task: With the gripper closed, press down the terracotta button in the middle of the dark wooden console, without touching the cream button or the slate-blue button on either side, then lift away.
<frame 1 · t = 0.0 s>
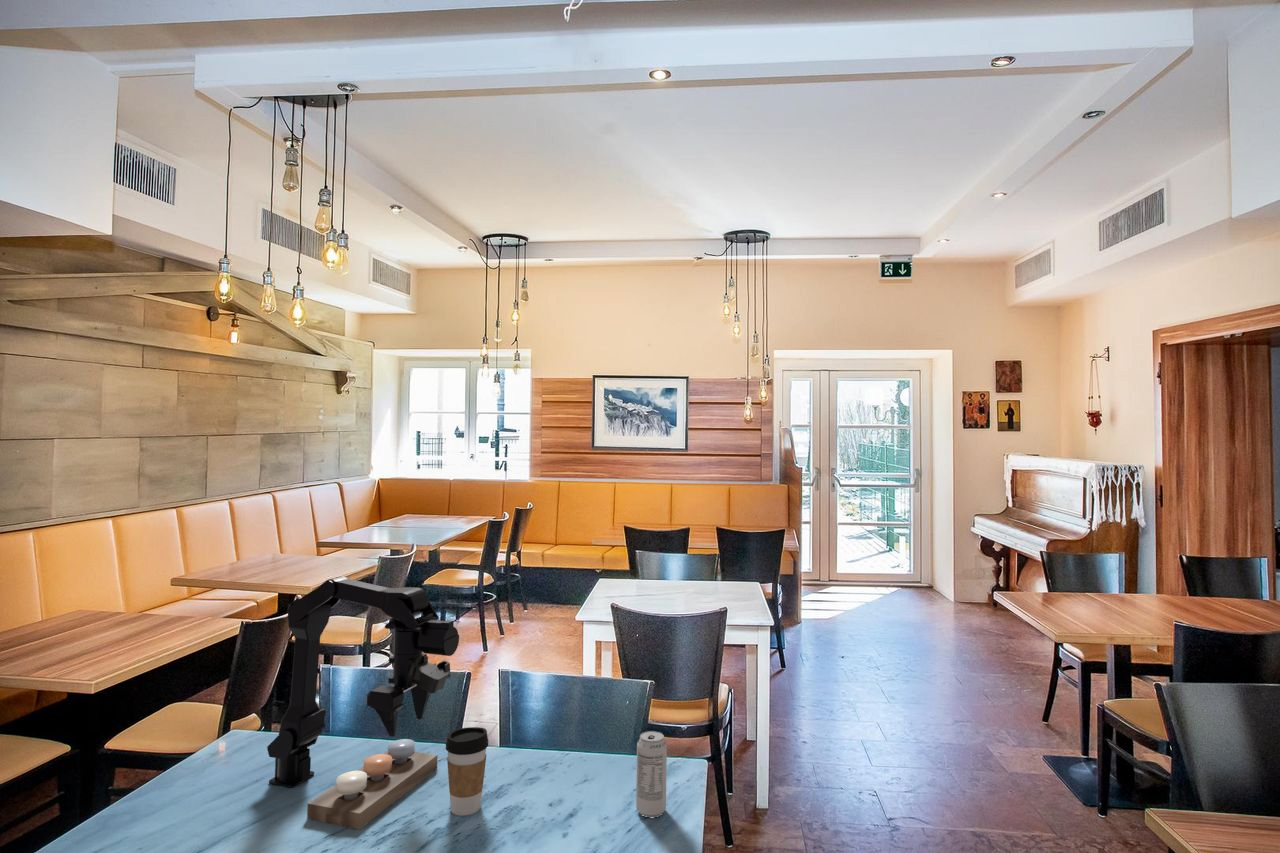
hand: (406, 727, 140), 15 cm above the table, tool pointing down, fingers open, 9 cm apart
coffee cup: (465, 809, 136), on the table
slate button: (401, 755, 150), point 4 cm above the table, slide at 0.0 cm
console: (377, 791, 142), on the table
terracotta button: (377, 772, 142), point 4 cm above the table, slide at 0.0 cm
energy drink can: (651, 812, 136), on the table
cream button: (351, 790, 135), point 4 cm above the table, slide at 0.0 cm
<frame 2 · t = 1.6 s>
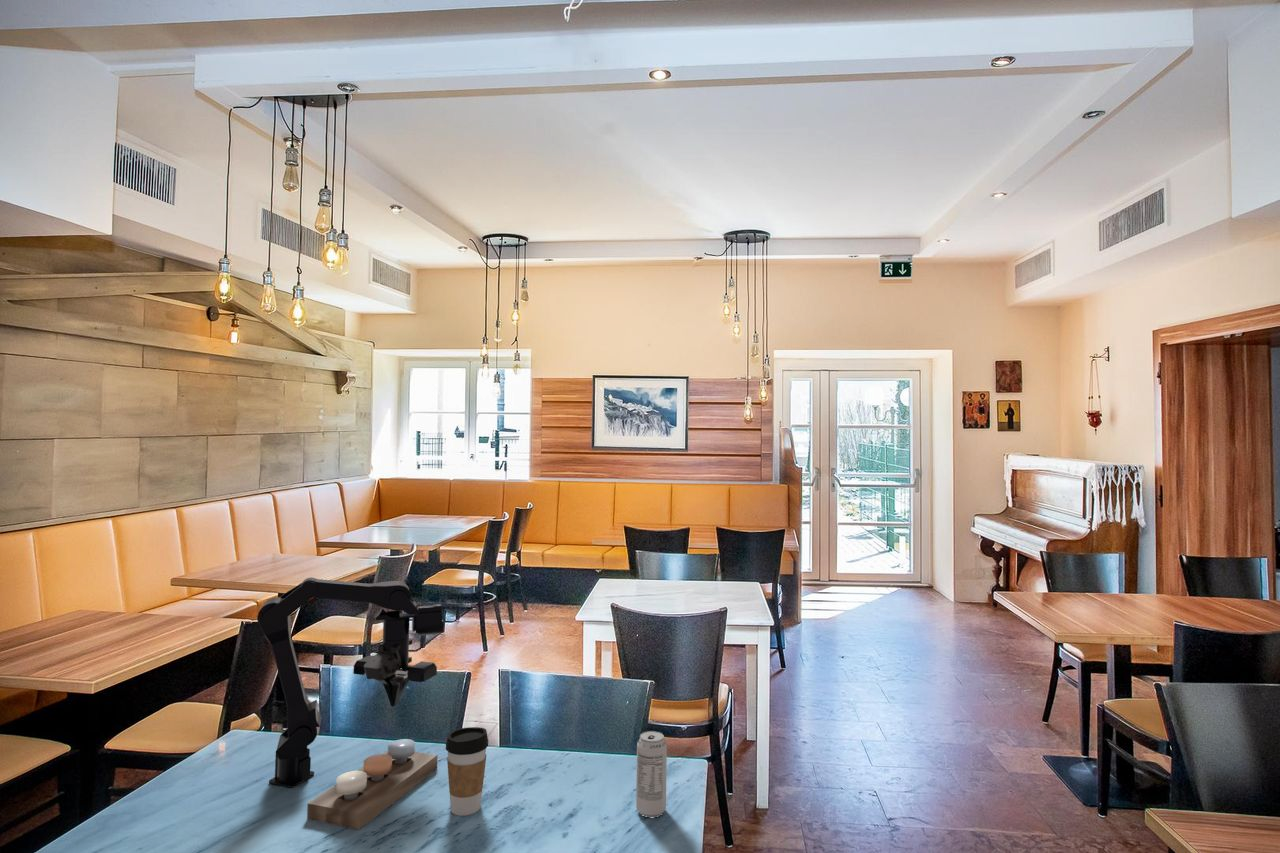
hand: (394, 706, 156), 13 cm above the table, tool pointing down, fingers closed
nothing on the table moved.
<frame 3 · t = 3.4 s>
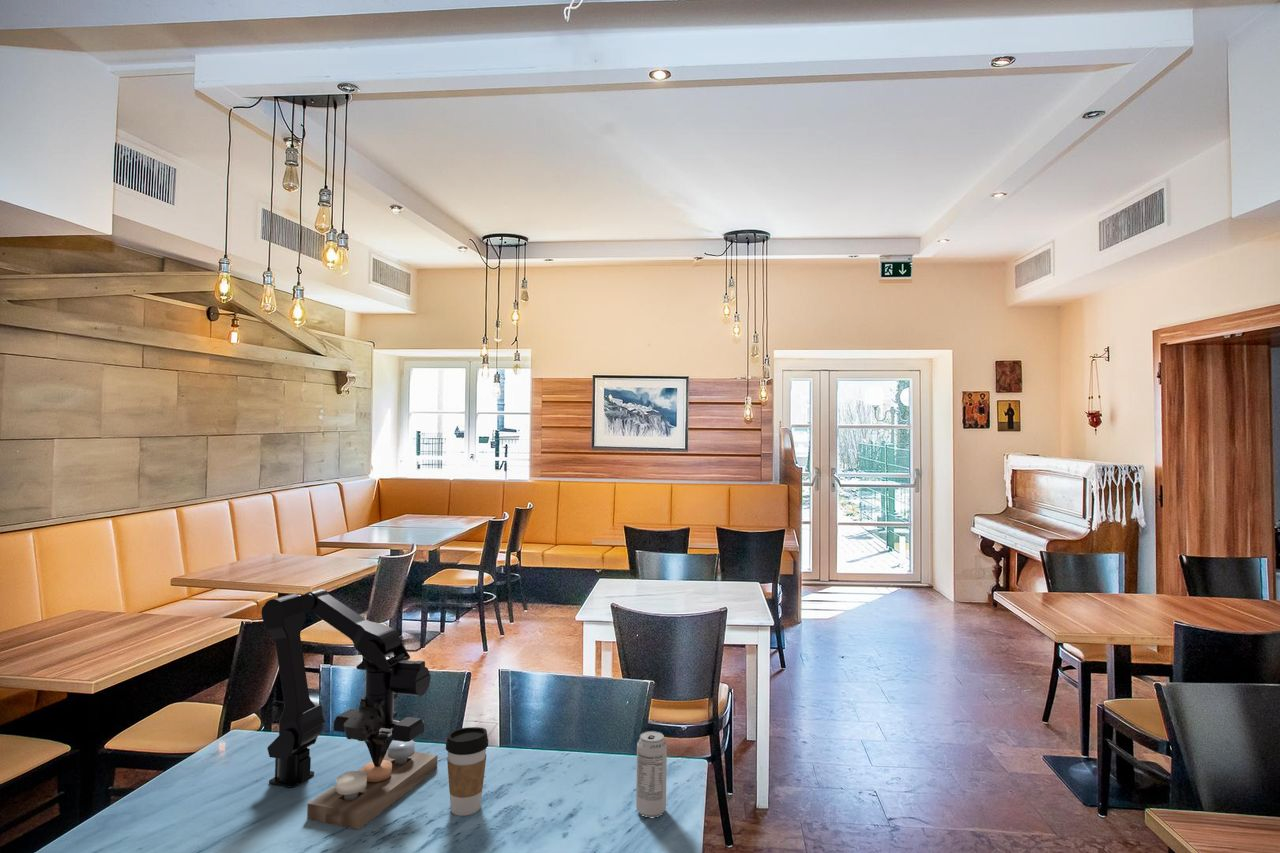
hand: (377, 765, 143), 5 cm above the table, tool pointing down, fingers closed, pressing on terracotta button
terracotta button: (377, 778, 142), point 3 cm above the table, slide at 1.2 cm, touching gripper
everything else where it was.
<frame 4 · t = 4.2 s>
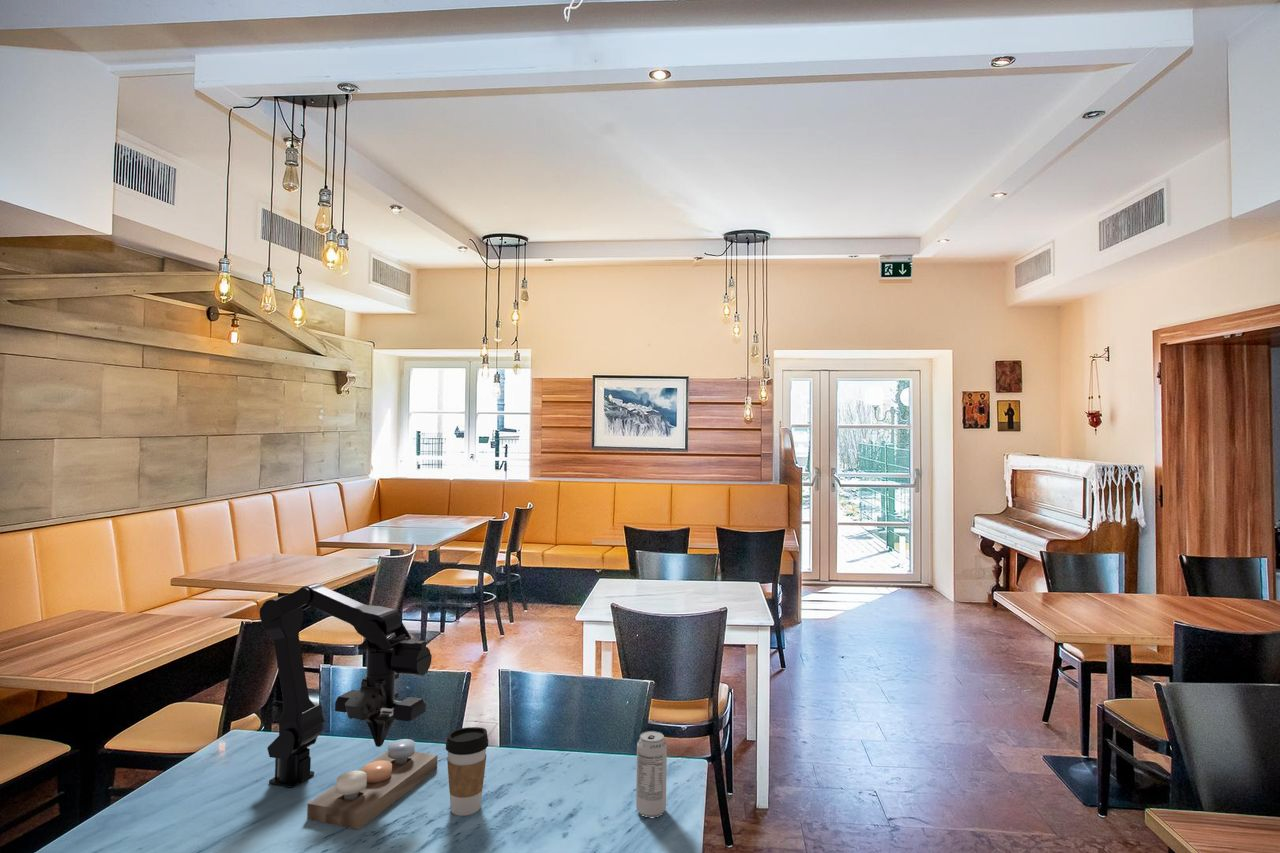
hand: (379, 746, 143), 9 cm above the table, tool pointing down, fingers closed
terracotta button: (377, 778, 142), point 3 cm above the table, slide at 1.4 cm
everything else where it was.
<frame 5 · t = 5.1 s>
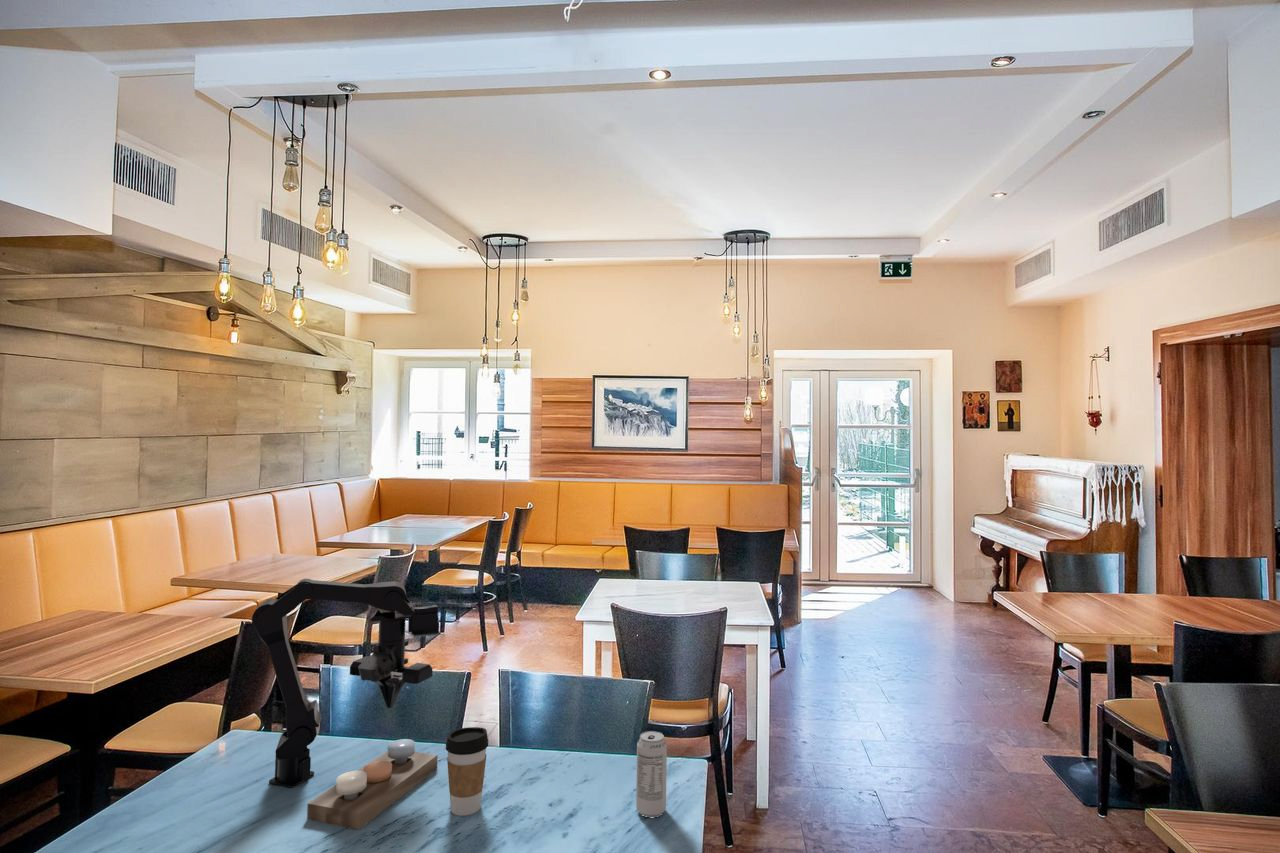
hand: (390, 707, 155), 13 cm above the table, tool pointing down, fingers closed
nothing on the table moved.
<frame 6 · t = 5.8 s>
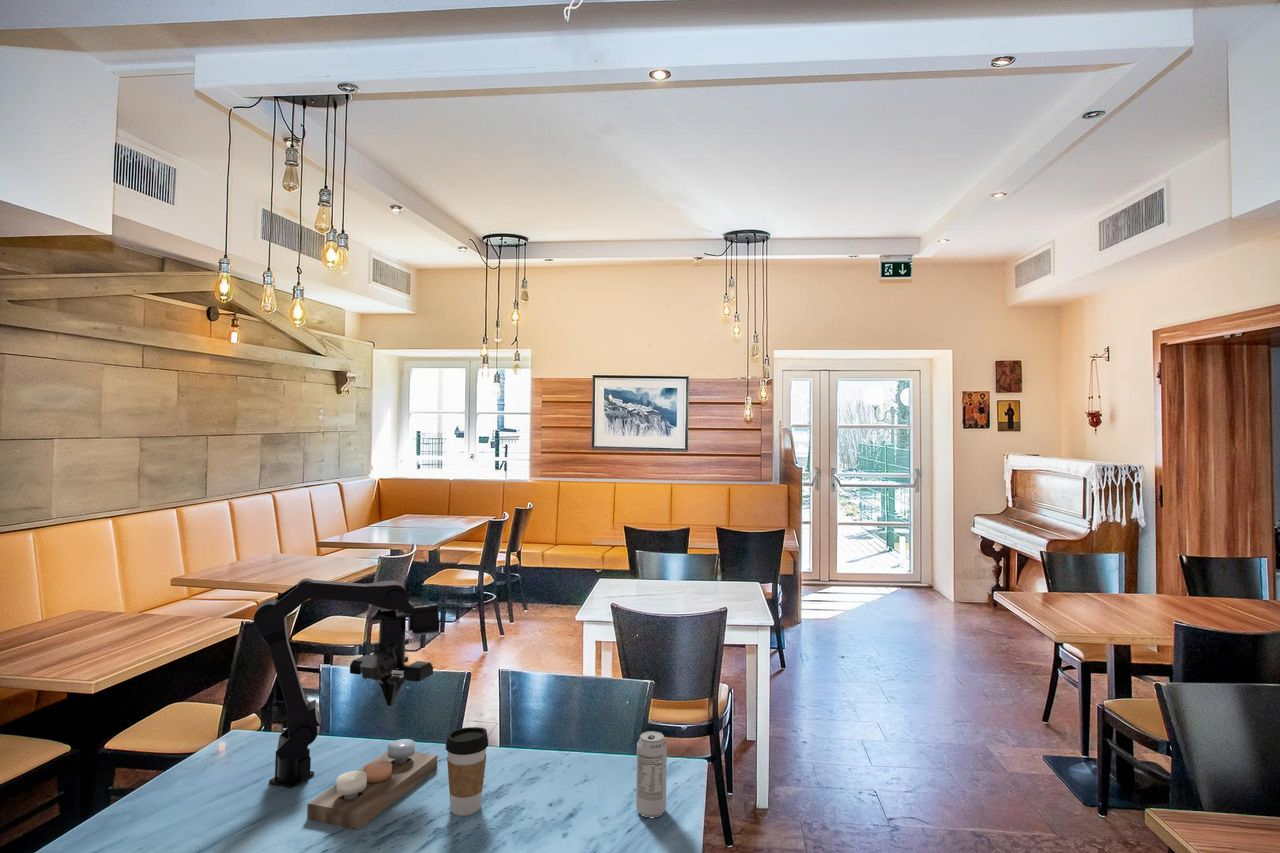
hand: (390, 705, 156), 13 cm above the table, tool pointing down, fingers closed
nothing on the table moved.
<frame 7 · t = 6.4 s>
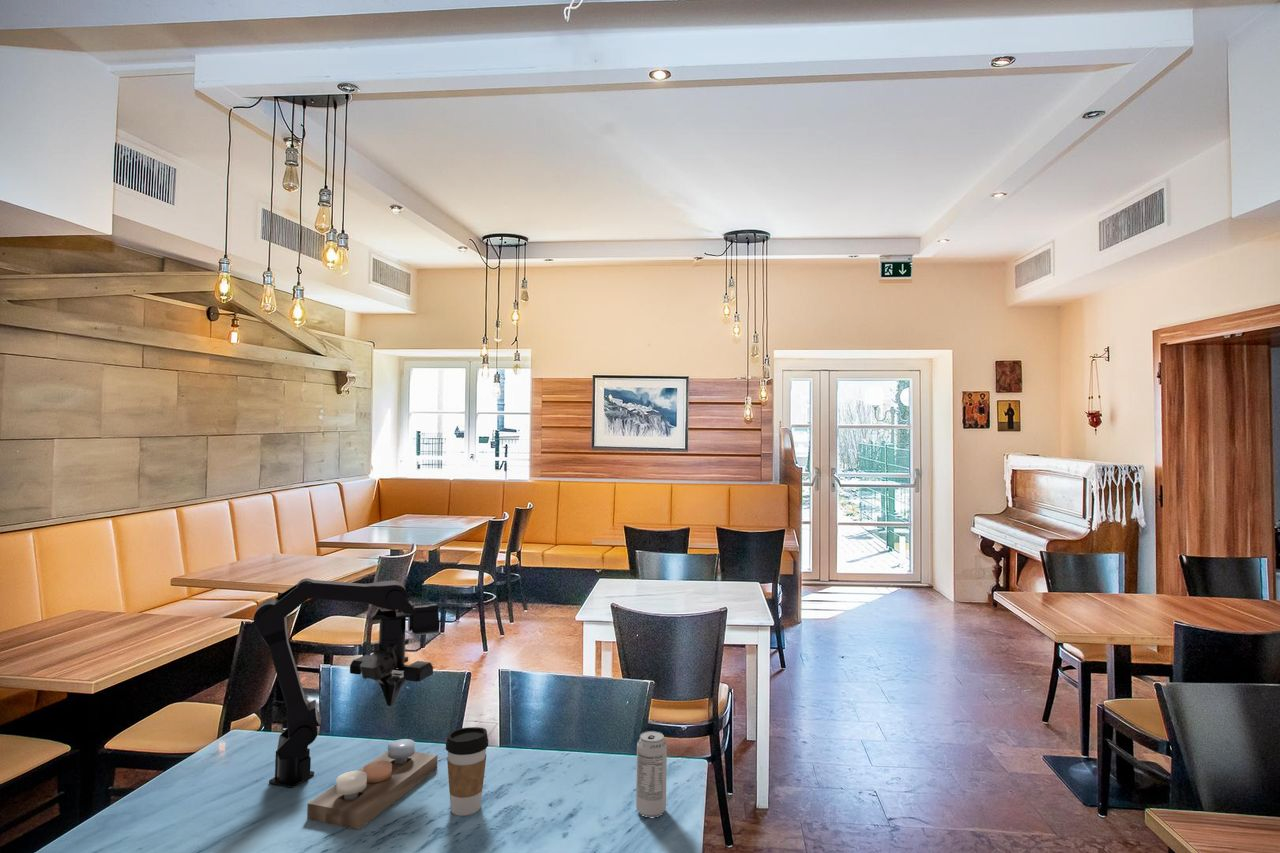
hand: (390, 705, 156), 13 cm above the table, tool pointing down, fingers closed
nothing on the table moved.
at the end: terracotta button slide at 1.4 cm; cream button slide at 0.0 cm; slate button slide at 0.0 cm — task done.
